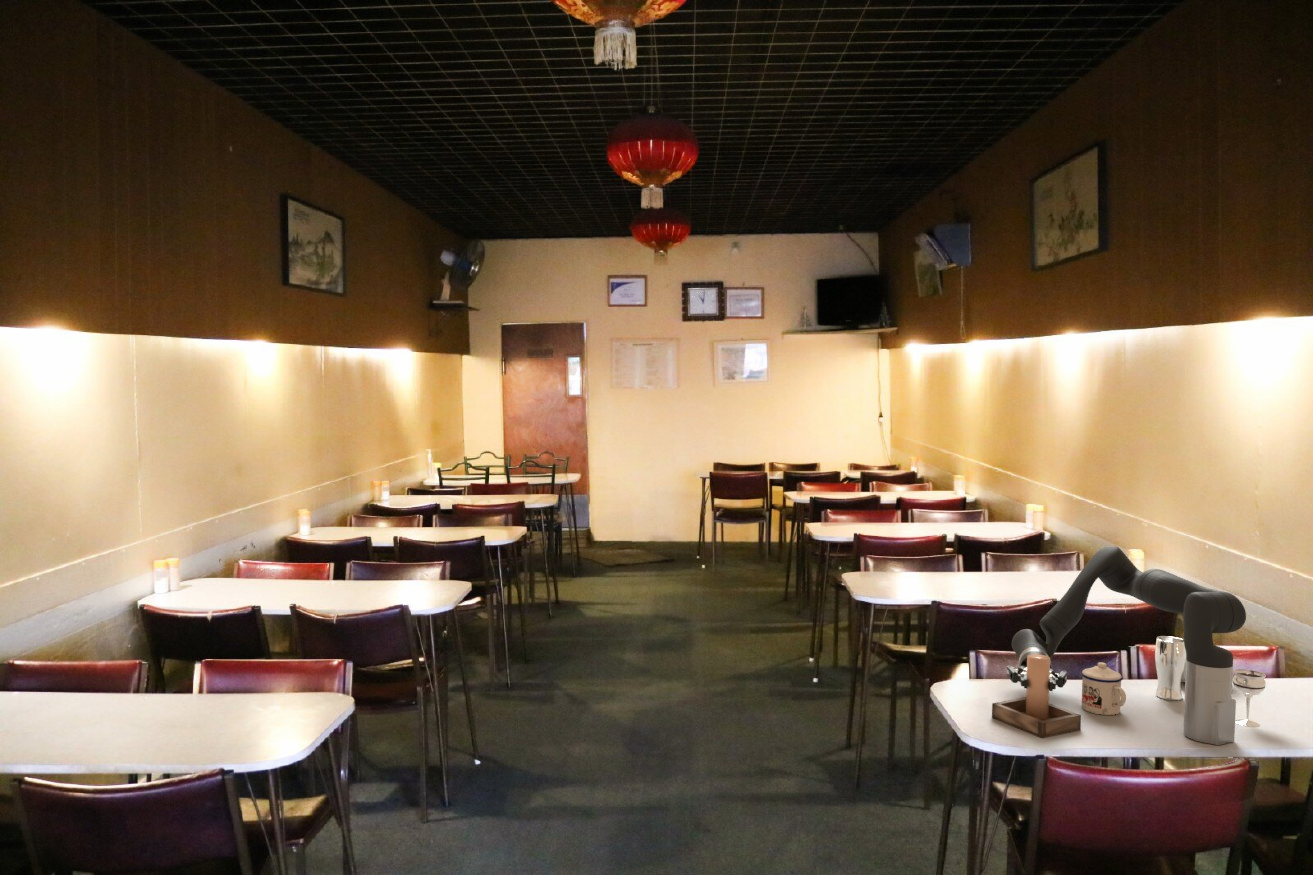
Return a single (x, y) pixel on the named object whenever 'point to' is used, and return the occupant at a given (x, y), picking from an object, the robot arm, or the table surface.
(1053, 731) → the tray
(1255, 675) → the wineglass
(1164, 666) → the beer glass
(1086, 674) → the teacup with lid
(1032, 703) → the canister
